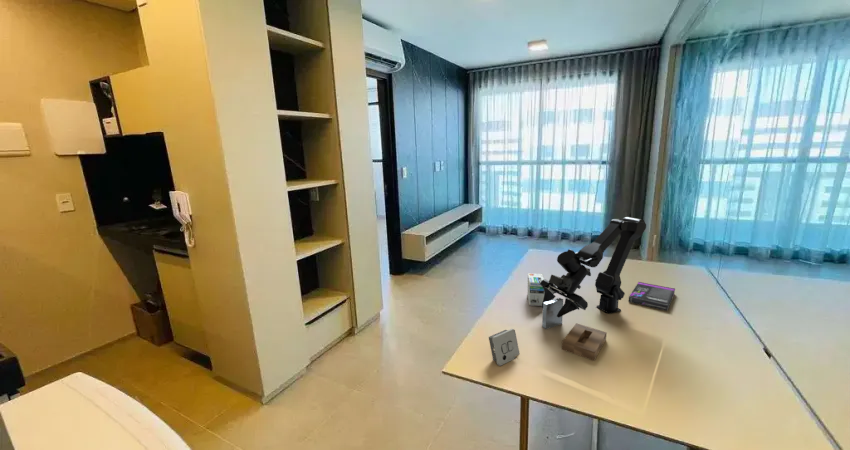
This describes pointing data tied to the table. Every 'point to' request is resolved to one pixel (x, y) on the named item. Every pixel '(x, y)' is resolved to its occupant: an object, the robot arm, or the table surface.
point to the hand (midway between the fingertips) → (549, 312)
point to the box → (652, 296)
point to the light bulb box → (535, 289)
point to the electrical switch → (504, 346)
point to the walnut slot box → (584, 341)
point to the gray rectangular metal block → (552, 313)
